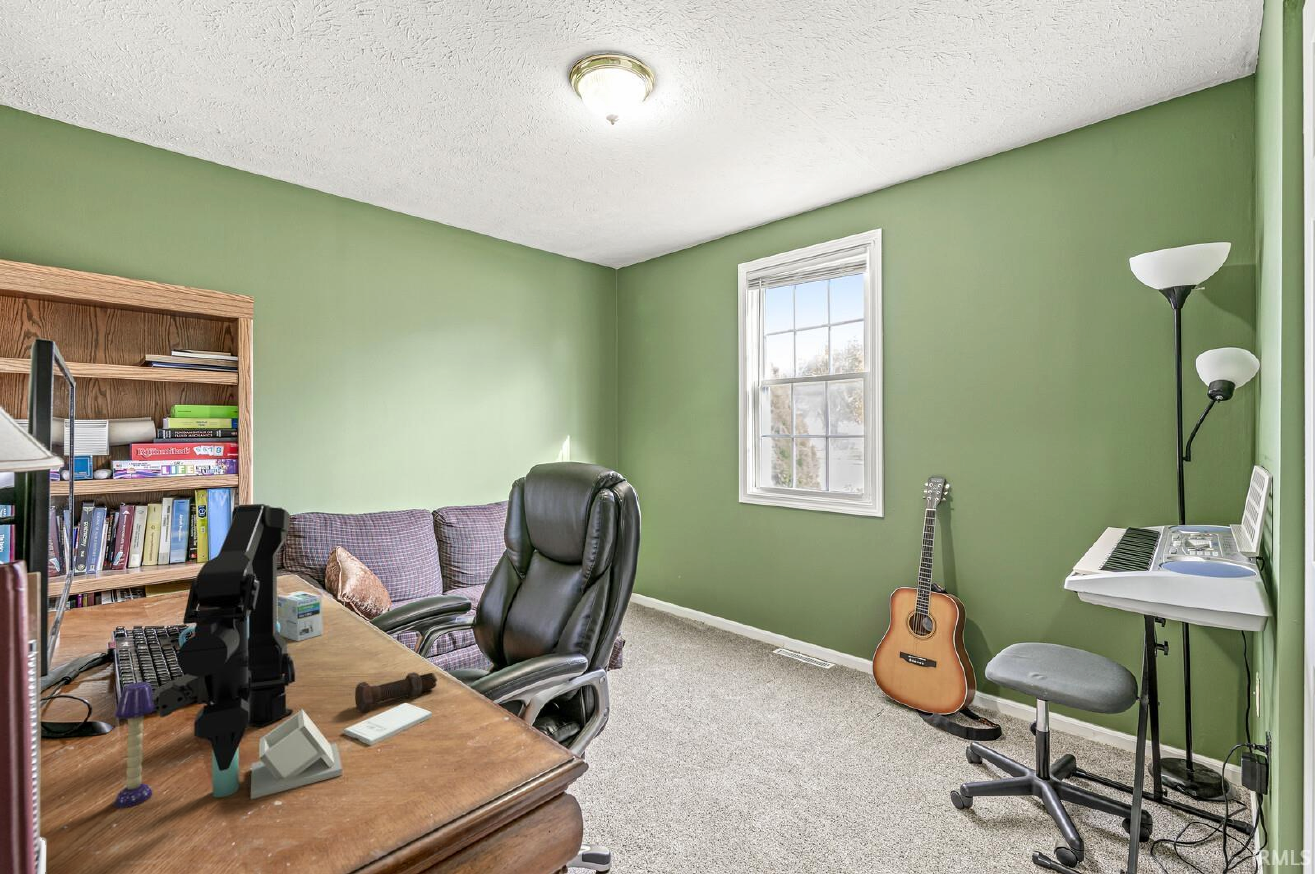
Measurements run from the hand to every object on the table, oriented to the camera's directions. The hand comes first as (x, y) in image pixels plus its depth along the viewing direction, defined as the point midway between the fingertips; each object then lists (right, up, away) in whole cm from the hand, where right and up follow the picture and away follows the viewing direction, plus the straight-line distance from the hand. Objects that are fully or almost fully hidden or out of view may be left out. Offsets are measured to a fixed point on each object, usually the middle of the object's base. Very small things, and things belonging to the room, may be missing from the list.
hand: (225, 755), depth 93 cm
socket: (+8, -5, +5) cm, 11 cm away
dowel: (0, -5, 0) cm, 5 cm away
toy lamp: (-12, -6, -2) cm, 13 cm away
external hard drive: (+15, -6, +21) cm, 27 cm away
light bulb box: (-31, -5, +72) cm, 79 cm away
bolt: (+13, -6, +32) cm, 35 cm away
